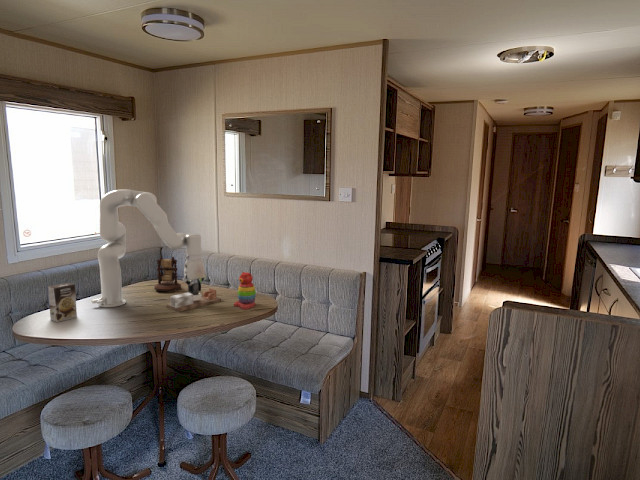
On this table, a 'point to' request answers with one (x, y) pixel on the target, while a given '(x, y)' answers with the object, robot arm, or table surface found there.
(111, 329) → the table surface
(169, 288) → the wooden spool holder
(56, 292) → the coffee box
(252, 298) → the stacking bear
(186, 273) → the robot arm
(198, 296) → the white block with knob
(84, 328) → the table surface
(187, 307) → the wooden board
